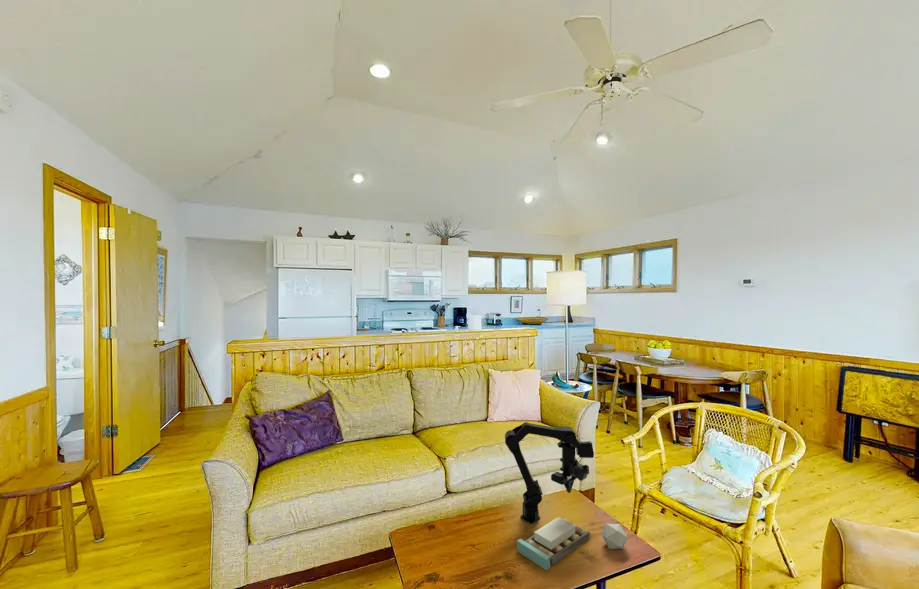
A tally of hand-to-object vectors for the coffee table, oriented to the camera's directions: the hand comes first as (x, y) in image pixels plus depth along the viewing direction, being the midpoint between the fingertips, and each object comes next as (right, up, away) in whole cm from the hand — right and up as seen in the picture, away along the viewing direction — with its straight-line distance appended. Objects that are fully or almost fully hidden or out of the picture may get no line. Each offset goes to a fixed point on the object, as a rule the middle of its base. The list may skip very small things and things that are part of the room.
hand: (569, 492), depth 169 cm
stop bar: (-21, -12, -25) cm, 35 cm away
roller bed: (-9, -12, -16) cm, 22 cm away
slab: (-10, -9, -17) cm, 21 cm away
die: (+13, -12, -18) cm, 25 cm away
